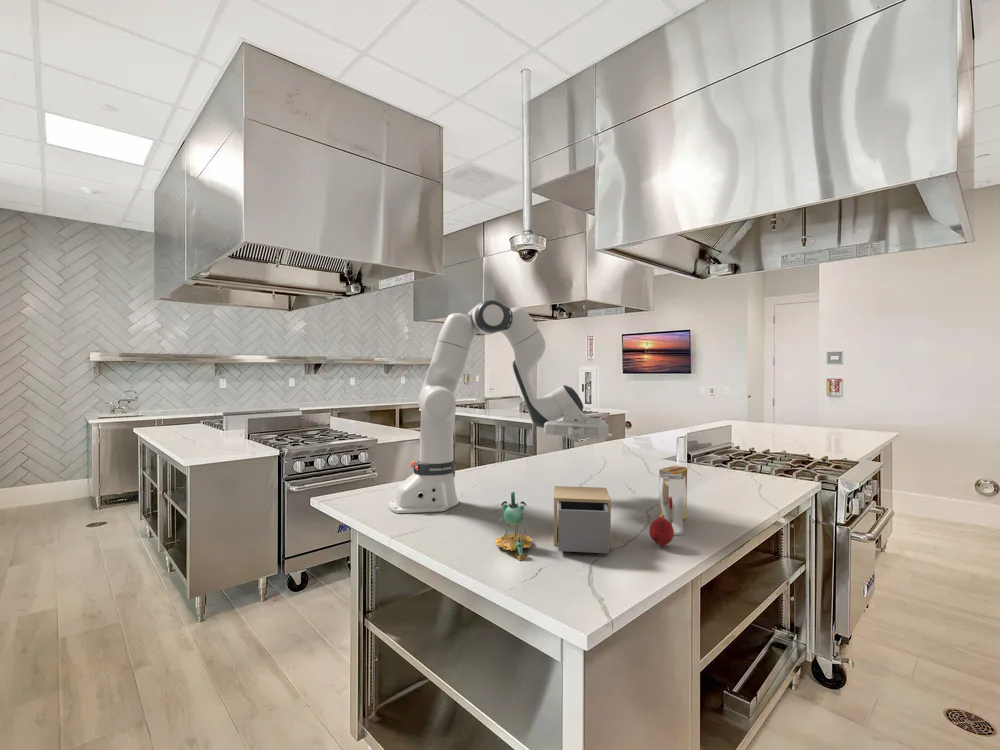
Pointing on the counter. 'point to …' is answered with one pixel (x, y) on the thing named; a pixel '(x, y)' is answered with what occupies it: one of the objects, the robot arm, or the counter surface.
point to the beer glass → (673, 500)
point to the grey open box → (583, 527)
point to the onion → (661, 531)
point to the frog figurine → (513, 518)
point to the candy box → (676, 471)
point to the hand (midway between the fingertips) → (576, 432)
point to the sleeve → (580, 496)
